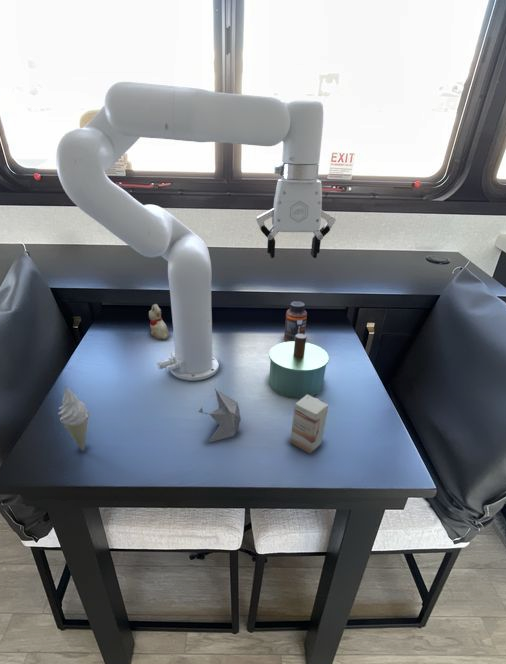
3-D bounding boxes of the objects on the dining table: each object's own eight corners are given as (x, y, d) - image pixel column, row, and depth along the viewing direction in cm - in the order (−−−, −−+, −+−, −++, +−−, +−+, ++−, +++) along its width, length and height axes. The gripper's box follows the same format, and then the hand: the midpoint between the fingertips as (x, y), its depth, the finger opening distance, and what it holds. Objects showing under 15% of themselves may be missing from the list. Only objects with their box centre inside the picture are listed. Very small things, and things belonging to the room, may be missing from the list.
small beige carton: (289, 442, 84) (293, 402, 79) (301, 432, 87) (306, 393, 82) (310, 455, 81) (316, 414, 76) (322, 444, 84) (329, 403, 79)
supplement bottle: (303, 345, 120) (307, 308, 114) (282, 343, 121) (285, 306, 115) (304, 336, 125) (308, 300, 119) (285, 334, 126) (288, 299, 120)
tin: (291, 404, 96) (294, 376, 92) (258, 377, 105) (260, 351, 101) (333, 388, 102) (338, 361, 98) (299, 364, 111) (302, 339, 107)
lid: (293, 380, 91) (296, 356, 88) (257, 353, 101) (258, 331, 98) (340, 364, 98) (344, 341, 95) (302, 340, 108) (304, 318, 105)
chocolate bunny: (169, 328, 128) (166, 297, 123) (168, 340, 122) (166, 308, 116) (150, 329, 128) (147, 298, 122) (149, 340, 121) (146, 308, 116)
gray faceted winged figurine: (242, 442, 82) (197, 435, 80) (233, 450, 88) (191, 443, 86) (247, 388, 87) (204, 379, 85) (238, 399, 93) (198, 391, 91)
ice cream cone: (72, 442, 83) (56, 378, 75) (98, 441, 84) (84, 378, 76) (66, 459, 79) (47, 394, 71) (93, 458, 79) (78, 393, 71)
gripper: (259, 174, 82) (256, 261, 91) (345, 175, 83) (334, 261, 92) (256, 170, 88) (253, 251, 98) (336, 171, 89) (326, 251, 99)
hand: (292, 256), depth 95 cm, fingers open, 9 cm apart
